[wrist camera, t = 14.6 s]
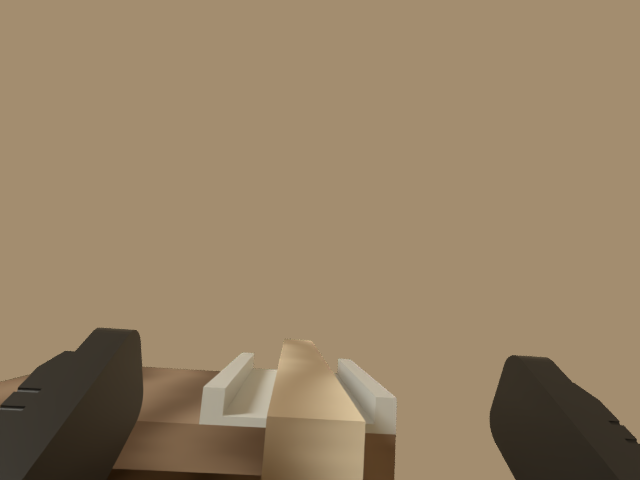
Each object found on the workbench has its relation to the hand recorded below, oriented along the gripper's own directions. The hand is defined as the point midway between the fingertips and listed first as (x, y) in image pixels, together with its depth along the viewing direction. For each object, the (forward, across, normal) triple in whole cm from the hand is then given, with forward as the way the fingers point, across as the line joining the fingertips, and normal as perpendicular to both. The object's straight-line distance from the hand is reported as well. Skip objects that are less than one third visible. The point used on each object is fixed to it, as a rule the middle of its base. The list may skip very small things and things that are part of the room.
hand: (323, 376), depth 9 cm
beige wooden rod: (+10, 0, +10) cm, 15 cm away
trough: (+14, 0, +12) cm, 18 cm away
